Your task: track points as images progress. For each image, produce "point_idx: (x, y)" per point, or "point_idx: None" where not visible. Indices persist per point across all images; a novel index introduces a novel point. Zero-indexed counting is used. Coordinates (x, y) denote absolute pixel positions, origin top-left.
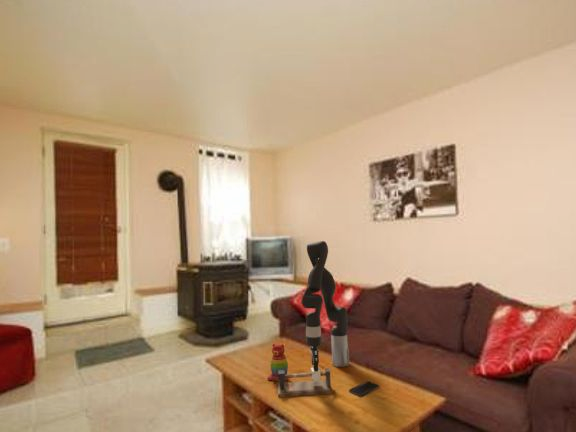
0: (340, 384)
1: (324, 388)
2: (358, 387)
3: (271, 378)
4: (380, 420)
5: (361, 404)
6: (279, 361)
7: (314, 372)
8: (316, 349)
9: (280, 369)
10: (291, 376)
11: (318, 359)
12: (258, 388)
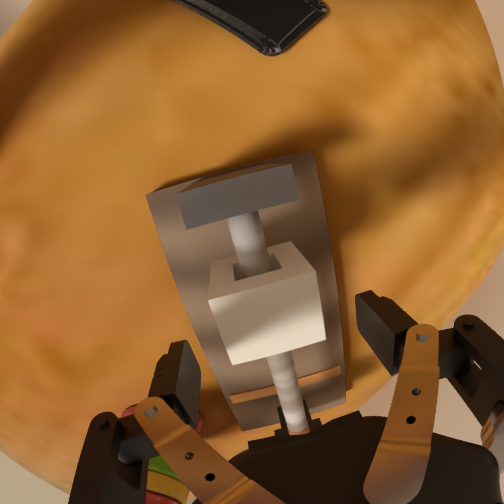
0: (166, 110)
1: (290, 205)
2: (224, 6)
3: None
4: (465, 18)
5: (396, 28)
6: (181, 494)
7: (321, 316)
8: (497, 473)
9: None
10: (306, 420)
11: (499, 338)
12: None
